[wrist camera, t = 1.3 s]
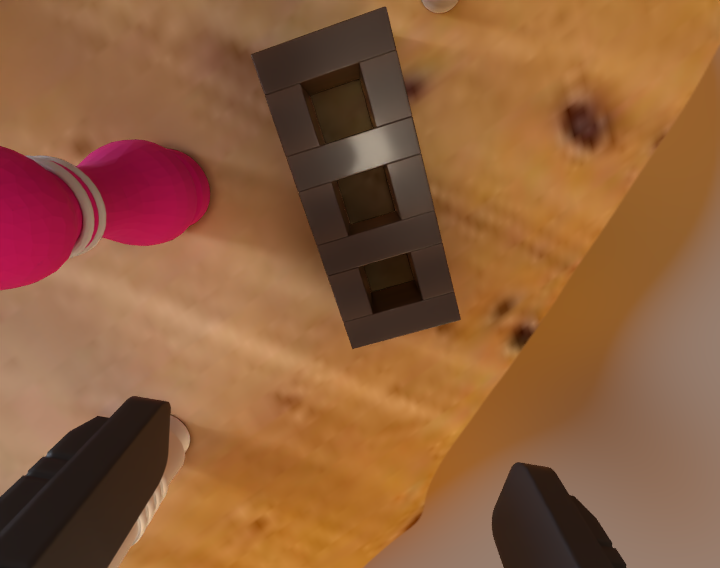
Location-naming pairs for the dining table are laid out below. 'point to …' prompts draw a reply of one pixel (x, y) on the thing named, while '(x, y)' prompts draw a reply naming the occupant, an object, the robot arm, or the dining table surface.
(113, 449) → the robot arm
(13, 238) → the pepper mill
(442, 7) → the peg
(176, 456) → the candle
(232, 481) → the dining table surface
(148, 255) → the dining table surface
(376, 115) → the dark brown hollow block
